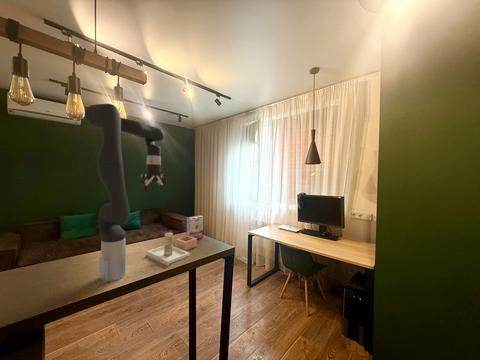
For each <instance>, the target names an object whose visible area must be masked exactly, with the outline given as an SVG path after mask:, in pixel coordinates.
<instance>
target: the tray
mask: <svg viewBox="0 0 480 360" xmlns="http://www.w3.org/2000/svg"><path fill="white" fill-rule="evenodd" d="M146 253H147V255H146V256H147V257H150V259H151V258H152V259H153V260H155V261H157V262H159V263H161V264H163V265H164V266H166V267H169V266H172V265H171V264H172V263H175V262H177V261H180V260H182V259H184V258H187V257H190V255H191V253H190V252H189V251H187V250H186V251H184V250H182V249H179V248H177V247H175V246H174V245H173V248H172V255H171V256H164V245H162V246H159V247H156V248H153V249H149V250H147V252H146Z"/></svg>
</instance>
